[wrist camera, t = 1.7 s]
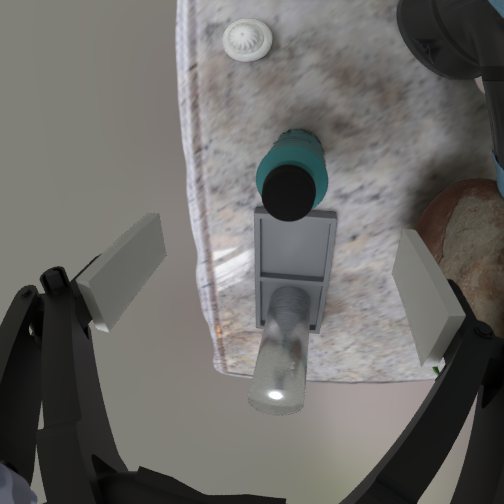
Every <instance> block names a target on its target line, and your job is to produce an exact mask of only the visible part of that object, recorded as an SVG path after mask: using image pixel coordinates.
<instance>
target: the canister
mask: <svg viewBox="0 0 504 504" xmlns="http://www.w3.org/2000/svg"><path fill="white" fill-rule="evenodd" d="M310 303H311V301H310V297H309V295H308V294H307V293H306V292H305V291H304V290H302V289H300V288H298V287H294V286H285V287H281V288H278V289H277V290H275V291H274V292H273V294H272V295H271V298H270V302H269V307H268V312H267V316H266V321H265V326H264V330H263V335H262V339H261V344H260V348H259V353H258V357H257V361H256V366H255V370H254V374H253V379H252V383H251V388H250V392H249V396H248V402H249V404H250V405H251V406H252V407H253V408H255V409H256V410H258V411H260V412H263V413H266V414H271V415H289V414H293V413H297V412H299V411H300V410H301V409H302V408H303V406H304V397H305V385H306V373H307V360H308V344H309V326H310Z"/></svg>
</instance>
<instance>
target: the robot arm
mask: <svg viewBox="0 0 504 504" xmlns="http://www.w3.org/2000/svg"><path fill="white" fill-rule="evenodd" d="M397 22H398V26H399V30H400V33H401V35H402V37H403V39H404V41H405V43H406V45H407V46H408V48H409V49H410V51H411V52H412V53H413V54H414V56H415V57H416V58H417V59H418V60H419V61H420V62H421V63H422V64H423V65H424V66H426V67H427V68H428V69H430V70H431V71H433V72H434V73H436V74H438V75H440V76H442V77H445V78H448V79H452V80H471V79H475V78H478V77H480V76H482V81H483V85H484V90H485V94H486V99H487V104H488V110H489V117H490V124H491V131H492V141H493V151H492V155H493V159H494V162H495V167H496V179H497V186H498V189H499V192H500V193H501V195H502V196H503V198H504V0H400V1H399V4H398V7H397ZM166 256H167V255H166V250H165V244H164V239H163V233H162V227H161V221H160V215H159V213H147V214H146V215H145V216H144V217H142V218H141V219H140V220H139V221H138V222H137V223H135V224H134V225H133V226H132V227H131V228H130V229H129V230H128V231H126V232H125V233H124V234H123V235H122V236H121V237H120V238H119V239H117V240H116V241H115V242H114V243H113V244H112V245H111V246H110V247H109V248H108V249H107V250H106V251H104V252H103V253H102V254H100V255H99V256H97V257H95V258H94V259H93V260H92V261H91V262H90V263H89V264H88V265H87V266H86V267H85V268H84V269H83V270H82V271H80V273H78V275H77V276H75V277H74V278H73V280H71V282H69V279H68V277H67V274H66V272H65V269H64V268H63V267H59V266H57V267H53V268H51V269H48V270H47V271H45V272H44V273H43V274H42V275H41V277H40V282H41V284H42V286H43V288H44V291H45V293H44V294H39V293H38V290H37V288H36V286H34V285H28V286H25V287H23V288H21V290H19V291H18V293H17V294H16V296H15V297H14V299H13V301H12V303H11V305H10V307H9V309H8V311H7V313H6V315H5V317H4V319H3V322H2V324H1V326H0V504H36V503H37V496H36V494H35V493H34V492H33V491H32V490H31V489H30V486H31V482H32V477H33V472H34V462H35V451H36V445H37V453H38V459H39V466H40V471H41V477H42V482H43V486H44V491H45V495H46V499H47V502H46V503H43V504H286V499H285V498H273V497H265V496H264V497H263V496H257V495H249V494H243V495H206V494H202V493H201V492H199V491H197V490H195V489H193V488H191V487H189V486H187V485H185V484H184V483H182V482H180V481H178V480H176V479H174V478H173V477H170V476H167V475H164V474H161V473H158V472H155V471H152V470H149V469H147V468H144V467H141V466H139V469H138V471H128V469H127V467H126V465H125V464H124V462H123V461H122V459H121V458H120V456H119V454H118V451H117V448H116V445H115V442H114V438H113V435H112V432H111V428H110V425H109V421H108V417H107V413H106V409H105V405H104V401H103V397H102V392H101V388H100V383H99V378H98V373H97V367H96V362H95V356H94V349H93V343H92V336H91V329H90V327H89V325H88V324H89V322H90V321H91V320H93V322H94V324H95V326H96V328H97V329H99V330H103V331H107V332H110V331H111V329H112V328H113V326H114V325H115V324H116V322H117V321H118V319H119V318H120V317H121V315H122V314H123V312H124V311H125V309H126V308H127V307H128V306H129V304H130V303H131V301H132V300H133V299H134V297H135V296H136V295H137V293H138V292H139V291H140V289H141V288H142V287H143V285H144V284H145V283H146V281H147V280H148V279H149V278H150V276H151V275H152V274H153V272H154V271H155V270H156V268H157V267H158V266H159V265H160V263H161V262H162V261H163V260H164V258H165V257H166ZM392 275H393V277H394V280H395V283H396V286H397V288H398V291H399V294H400V297H401V300H402V303H403V306H404V309H405V312H406V315H407V318H408V321H409V325H410V328H411V331H412V334H413V338H414V341H415V345H416V348H417V352H418V356H419V360H420V363H421V367H436V366H438V364H439V363H440V361H441V359H442V358H443V357H444V360H445V363H446V364H445V366H444V368H443V369H442V371H441V372H440V374H439V375H438V376H437V378H436V379H435V383H434V385H433V387H432V388H431V390H430V392H429V393H428V395H427V397H426V398H425V400H424V401H423V403H422V404H421V406H420V408H419V409H418V411H417V412H416V414H415V415H414V417H413V418H412V419H411V421H410V422H409V424H408V425H407V427H406V428H405V430H404V431H403V432H402V434H401V435H400V436H399V438H398V439H397V440H396V442H395V443H394V444H393V445H392V447H391V448H390V449H389V450H388V452H387V453H386V454H385V455H384V457H383V458H382V459H381V460H380V462H379V463H378V464H377V465H376V466H375V467H374V468H373V470H372V471H371V472H370V473H369V474H368V475H367V476H366V478H364V480H363V481H362V482H361V483H360V484H359V485H358V486H357V487H356V488H355V489H354V490H353V491H352V492H351V493H350V494H349V495H348V496H347V497H346V498H345V499H344V500H342V501H341V502H340V503H339V504H417V502H418V500H419V499H420V497H421V496H422V494H423V493H424V491H425V490H426V488H427V487H428V486H429V484H430V483H431V481H432V479H433V478H434V476H435V475H436V473H437V472H438V470H439V469H440V467H441V465H442V463H443V462H444V460H445V458H446V457H447V455H448V453H449V452H450V450H451V448H452V446H453V444H454V442H455V440H456V439H457V437H458V435H459V433H460V430H461V429H462V427H463V425H464V422H465V420H466V418H467V416H468V414H469V411H470V409H471V407H472V404H473V402H474V400H475V397H476V395H477V392H478V396H477V403H476V410H475V415H474V421H473V426H472V431H471V436H470V440H469V445H468V449H467V453H466V456H465V460H464V464H463V467H462V471H461V474H460V477H459V480H458V483H457V486H456V489H455V492H454V495H453V497H452V500H451V503H450V504H504V338H501V337H497V336H495V333H494V331H493V329H492V328H491V327H490V326H489V325H488V324H487V323H485V322H483V321H480V320H477V318H476V316H475V314H474V312H473V310H472V309H471V307H470V305H469V303H468V301H467V299H466V298H465V296H464V295H463V292H462V291H461V289H460V287H459V286H458V285H457V284H456V283H455V282H454V281H453V280H452V279H446V278H445V276H444V274H443V273H442V271H441V269H440V267H439V266H438V264H437V262H436V261H435V259H434V258H433V256H432V254H431V253H430V251H429V250H428V248H427V246H426V245H425V243H424V242H423V240H422V239H421V237H420V236H419V234H418V233H417V231H416V230H412V229H403V230H402V234H401V239H400V243H399V247H398V251H397V255H396V259H395V263H394V267H393V271H392ZM29 326H30V328H31V329H32V331H33V332H32V334H31V335H30V333H29ZM41 402H42V405H43V418H44V428H43V429H40V430H38V422H39V415H40V408H41Z"/></svg>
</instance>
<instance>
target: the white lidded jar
mask: <svg viewBox="0 0 504 504" xmlns="http://www.w3.org/2000/svg"><path fill="white" fill-rule="evenodd" d="M272 40H273V37H272V33H271V31H270V29H269V28H268V26H267V25H266V24H264V23H263V22H261V21H259V20H256V19H251V18H246V19H240V20H237V21H235V22H233V23H231V24H230V25H229V26H228V27H227V28H226V30H225V32H224V34H223V38H222V44H223V48H224V50H225V52H226V53H227V54H228V55H229V56H230V57H231V58H233V59H235V60H237V61H241V62H251V61H255V60H258V59H261V58H262V57H264V56H265V55H266V54H267V53H268V52H269V50H270V48H271V45H272Z"/></svg>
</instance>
